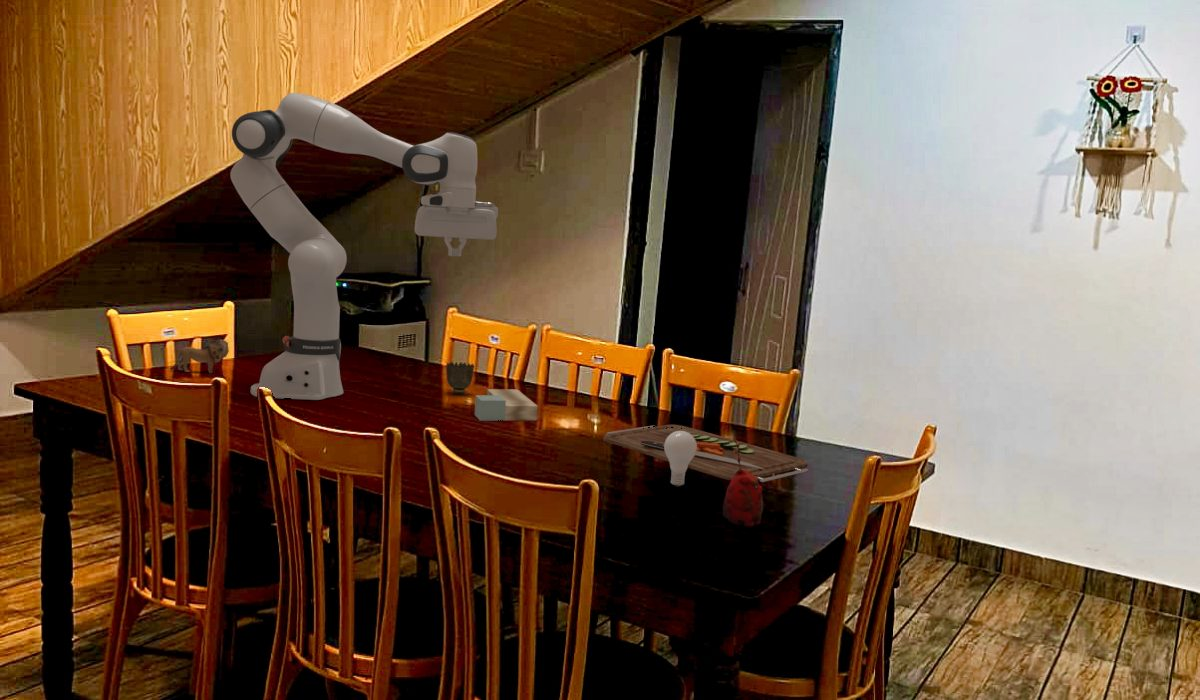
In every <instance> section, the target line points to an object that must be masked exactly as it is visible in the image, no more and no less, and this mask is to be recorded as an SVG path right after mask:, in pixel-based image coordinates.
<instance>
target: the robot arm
mask: <svg viewBox="0 0 1200 700" xmlns="http://www.w3.org/2000/svg"><path fill="white" fill-rule="evenodd" d="M231 137H232V141H233V143H234V145H235V147H236V149H237V150H238V151H239V152H241V153H242V154H243V155H242V157H241V158H240V159H239V160H238V161H236V162H235V164H234V165H233V167H232V168H231V169H230V181H231V182H232V184H233V186H234V188H235V190H236V193H238V195H239V196H240V198H241V200H242V201H243V203H244V204H245V205H246V206H247V208H248V209H249V211H250V212H251V213H252V215H253V216H254V217H255V218H256V220H257V221H258V222H259V223H260V225H261V226H262V227H263V229H264V230H265V231H266V232H267V234H269V236H270V237H271V238H272V239H274V240H275V241H276V242H277V243H278V244H280V245H281V246H282V247H283V248H284V249H285V250H286V251H287V252H288V253H289V256H288V260H287V261H288V262H287V265H288V270H289V273H290V282H291V291H292V297H293V335H292V336H289V335H285V336H284V337H282V339H281V340H282V343H283V344H284V352H282V353H281V354H279V355H277V357H275V358H273V359H272V360H271V361H269V362H267V363H266V364H265V365H264V366H263V368H262V370H261V373H260V378H259V383H254V384H253V385H251V387H250V394H251V395H252V396H254V397H256V398H258V397H257V389H258V387H265V388H268V389H270V390H271V391H272V393H273V396H274V397H275V398H274V399H284V398H291V399H292V400H310V401H319V400H324V399H327V398H332V397H337V396H341V395H343V394H344V389H343V384H342V380H341V374H340V360H341V354H342V353H341V350H342V342H341V338H340V316H341V315H340V314H341V306H340V303H339V297H338V289H337V278H338V277H339V276H340V275H341V274H342V273H343V272H344V270H345V268H346V265H347V261H348V260H347V259H348V257H347V253H346V249H345V248H344V247H343V246H342V245H341V243H340V242H338V240H337V239H336V237H334V236H333V234H331V232H329V230H328V229H327V228H326V227H325V226H323V224H322V223H321V222H320V221H319V220H318V219H317V218H316V217H315V216H314V215H313V214H312V213H311V212H310V210H308V208H307V207H306V206H305V205H304V203H302V201H301V200H300V199H299V197H298V196H297V195H296V193H295V192H294V191H293V190H292V188H291V187H290V186H289V184H288V183H287V182H286V181H285V179H284V178H283V176H282V175H281V174H280V173H279V171H278V169H277V167H276V166H279V165H280V163H281V162H282V160H283V159H284V157H285V156H286V154H287V153H288V152H289V151H290V150H291V147H292V144H293V139H294V140H295V139H297V140H301V141H304V142H307V143H309V144H312V145H314V146H316V147H319V148H322V149H325V150H329V151H333V152H338V153H341V154H342V153H343V154H352V155H353V154H354V155H365V156H369V157H372V158H373V157H374V158H376V159H379V160H382V161H384V162H387V163H389V164H392V165H394V166H396V167H399V168H401V169H402V170H403V173H404V174H405V175H406V177H407V178H408V179H409V180H410V181H412V182H414V183H415V184H418V185H419V184H422V185H423V186H424V185H425V186H428V187H429V186H430V187H432V186H433V187H435V186H437V185H439V192H433V193H431V194H427V195H423V196H422V197H421V198H420V203H421V206H420V207H419V208H418V209H417V212H416V216H415V223H414V233H415V234H416V235H417V236H419V237H420V236H421V237H436V238H437V237H439V238H444V243H445V245H446V247H447V249H448V257H461V256H462V250H463V249H464V247H465V246H466V244H467V239H471V240H473V239H475V240H491V241H493V240H495V239H496V238H497V236H498V235H497V234H498V227H497V219H498V217H499V208H498V206H497V204H494V203H493V202H489V201H488V202H484V201H476V197H477V195H476V194H477V185H476V176H477V174H478V157H479V156H478V146H477V144H476V142H475V140H474V139H473V138H472V137H470V136H467V135H465V134H462V133H461V134H460V133H458V132H453V131H449V132H446V133H445V134H443V135H442V136H440V137H438V138H435V139H434V140H431V141H427V142H423V143H419V144H416V145H415V144H411V143H407V142H405V141H403V140H400V139H398V138H395V137H392V136H391V135H387V134H385V133H382V132H381V131H378V130H377V129H375V127H373V126H371V125H370V124H368V123H367V122H365V121H364V120H363V119H361V118H360V117H359V116H357V115H355V114H354V113H352V112H351V111H349V110H348V109H345V108H343V107H342V106H340V105H338V104H336V103H333V102H331V101H328V100H326V99H322V98H319V97H316V96H313V95H310V94H309V95H308V94H305V93H301V92H291V93H288V94H287V95H285V96H284V97H283V98H282V99H281V101H280V103H279V105H278V107H277V109H276V110H275V111H274V110H273V109H265V110H257V111H251V112H247V113H245V114H244V113H243V114H242V115H240V116H239V117H238V118H237V119H236V120H235V122H233V125H232V128H231ZM452 238H455V239H456V238H457V239H459V240H458V241H459V243H460V244H459V245H458V247H457V248H453V246H452V244H451V242H452V241H453V239H452ZM291 399H290V400H291Z"/></svg>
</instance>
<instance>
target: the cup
mask: <svg viewBox="0 0 1200 700" xmlns="http://www.w3.org/2000/svg"><path fill="white" fill-rule="evenodd" d="M445 367H446V379H447V383H448V385H449V387H451V388H452V389H451V392H452V394H454V395H460V396H461V395H465V394H466V392H467V388H468V387H470V386H471V384H472V380H473V377H474V371H475V364H474V363H471V364H470V362H469V363H467V364H466V362H462V361H461V362H459V364H458V361H456V362H455V363H454V362H453V361H450V362H446V365H445Z"/></svg>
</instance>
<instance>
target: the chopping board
mask: <svg viewBox="0 0 1200 700" xmlns="http://www.w3.org/2000/svg"><path fill="white" fill-rule="evenodd" d="M653 426H655V425H653V424H652V425H649V426H642V427H636V428H635V427H634V428H627V429H621V430H615V431H610V432H609V431H608V432H606V434H604V435H603V438H602V439H603V441H604V442H605V441H606V442H605V443H608V444H611V445H614V444H615V445H614V446H617V445H618V447H620V446H622V447H621V448H624V449H627V448H628V450H630V449H631V450H630V451H633V450H634V451H633V452H636V451H637V452H636V453H640V454H644V455H647V456H649V455H650V456H649V457H652V456H653V458H656V459H659V460H662V461H666V462H668V463H670V462H669V460H668V458H667V456H666V454H665V451H664V444H665V440H666V439H667V437H668V436H669V435H670V434H671V433H673V432H675V431H685V432H688V433H690V434H691V435H692V436H693V437H694V439H695V441H696V444H697V451H696V454H695V456H694V457H693V459H692V460H691V461H690V463H689V464H688V467H687V469H691V470H694V471H698V472H701V473H704V474H707V475H711V476H714V477H717V478H721V479H722V480H723V479H724V480H726V481H727V480H728V481H731V480H732V479H733V477H734V476H735V474H736V472H737V471H738V470H739V463H738V461H737V459H738V452H737V454H735V453H734V448H737V447H736V443H735V441H734V439H733V438H728V437H725V436H721V435H717V434H714V433H711V432H706V431H703V430H699V429H697V428H692V427H688V426H685V425H681V424H665V425H658V426H655V427H653ZM648 427H650V428H648ZM671 427H673V428H671ZM643 428H644V429H643ZM666 428H667V429H666ZM681 428H682V429H681ZM736 441H737V443H738V444H741V443H742V442H743V441H740V440H739V441H738V440H736ZM731 445H735V446H731ZM737 451H738V450H737ZM739 457H740V458H742V459H741V460H740V466H741V469H742V470H744V471H749V472H751V475H753V476H756V477H757V478H758V480H759V482H761V483H765V482H769V481H774V480H777V479H778V480H779V479H782V478H787V477H791V476H795V475H798V474H803V473H808V471H809V469H808V468H805V467H807V460H805V459H803V458H800V457H797V456H793V455H789V454H787V453H783V452H779V451H776V450H772V449H768V448H764V447H760V446H757V445H753V444H751V443H750V444H749V443H746V442H743V444H741V445H739ZM802 468H803V469H802ZM793 470H794V471H793ZM781 473H782V474H781ZM773 475H774V476H773ZM768 476H769V477H768Z"/></svg>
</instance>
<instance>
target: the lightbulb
mask: <svg viewBox="0 0 1200 700" xmlns="http://www.w3.org/2000/svg"><path fill="white" fill-rule="evenodd" d="M664 451H665V454H666V456H667V458H668V460H669V462H668V463H669V467H670V471H671V472H670V473H671V475H670V483H671V484H672V485H673V486H674V487H676V488H677V487H678V488H679V487H681V486H683V485H685V476H686V472H687V470H688V464H689V463H690V461H691V460H692V459H693V457H694V456H695V454H696V451H697V444H696V441H695V439H694V437H693V436H692V435H691V434H690V433H688V432H685V431H675V432H673V433H671V434H670V435H669V436H668V437H667V439H666V440H665V444H664Z"/></svg>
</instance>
